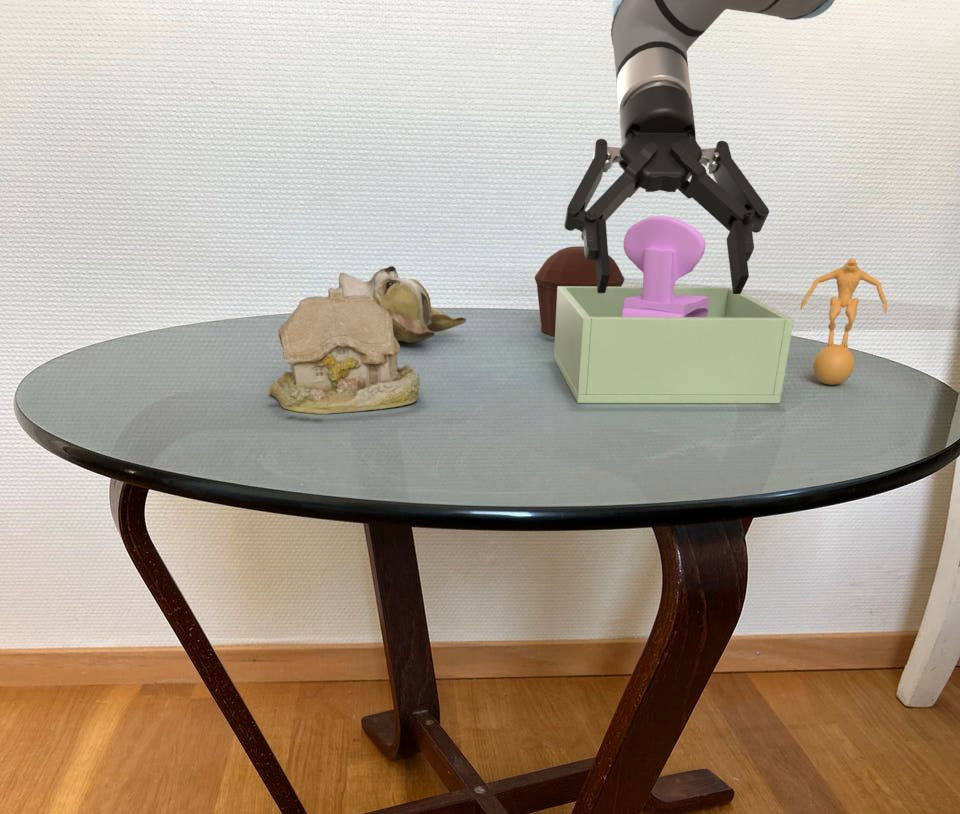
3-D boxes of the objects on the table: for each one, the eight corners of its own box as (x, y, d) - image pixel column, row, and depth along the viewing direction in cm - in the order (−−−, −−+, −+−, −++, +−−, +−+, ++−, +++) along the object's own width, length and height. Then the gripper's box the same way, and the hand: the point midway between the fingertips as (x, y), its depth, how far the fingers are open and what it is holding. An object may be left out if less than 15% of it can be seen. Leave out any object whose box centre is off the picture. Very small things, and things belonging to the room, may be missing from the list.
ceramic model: (269, 416, 84) (257, 298, 79) (268, 386, 93) (258, 279, 88) (425, 410, 86) (423, 295, 81) (409, 381, 96) (407, 277, 91)
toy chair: (711, 371, 98) (732, 214, 91) (678, 387, 92) (697, 220, 85) (639, 361, 102) (653, 209, 95) (602, 376, 96) (614, 215, 89)
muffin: (597, 344, 114) (603, 256, 109) (516, 334, 119) (519, 249, 114) (633, 329, 123) (641, 246, 118) (557, 320, 128) (561, 241, 123)
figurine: (788, 385, 97) (809, 260, 91) (788, 372, 102) (808, 254, 96) (873, 392, 95) (900, 264, 89) (869, 378, 100) (895, 257, 94)
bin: (724, 359, 107) (733, 287, 104) (780, 403, 90) (794, 319, 86) (553, 358, 106) (557, 286, 103) (577, 403, 89) (582, 317, 85)
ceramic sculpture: (361, 253, 117) (471, 269, 112) (361, 325, 121) (467, 343, 117) (316, 264, 108) (433, 281, 104) (317, 340, 113) (430, 360, 108)
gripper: (761, 141, 102) (784, 309, 96) (533, 138, 101) (541, 308, 95) (785, 82, 95) (812, 260, 89) (540, 78, 94) (550, 258, 88)
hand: (672, 285), depth 92 cm, fingers open, 13 cm apart
